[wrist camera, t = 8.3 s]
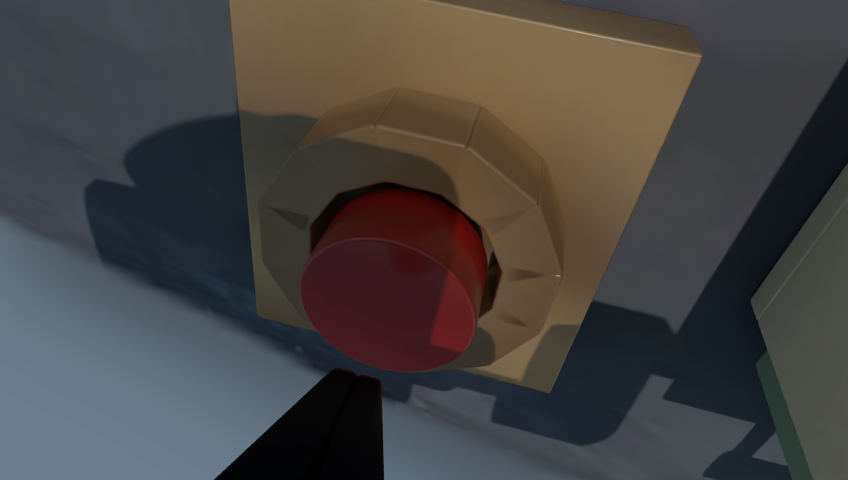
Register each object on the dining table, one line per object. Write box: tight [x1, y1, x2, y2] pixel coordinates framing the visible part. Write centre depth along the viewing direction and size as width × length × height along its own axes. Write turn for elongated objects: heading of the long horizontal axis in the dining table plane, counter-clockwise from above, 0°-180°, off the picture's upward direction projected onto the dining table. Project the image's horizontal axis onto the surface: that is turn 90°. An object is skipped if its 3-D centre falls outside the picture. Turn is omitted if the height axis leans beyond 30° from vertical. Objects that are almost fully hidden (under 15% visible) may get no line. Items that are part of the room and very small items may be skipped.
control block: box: [229, 0, 703, 393], centre depth 13 cm, size 10×9×4 cm
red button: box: [299, 188, 488, 372], centre depth 11 cm, size 4×4×2 cm
